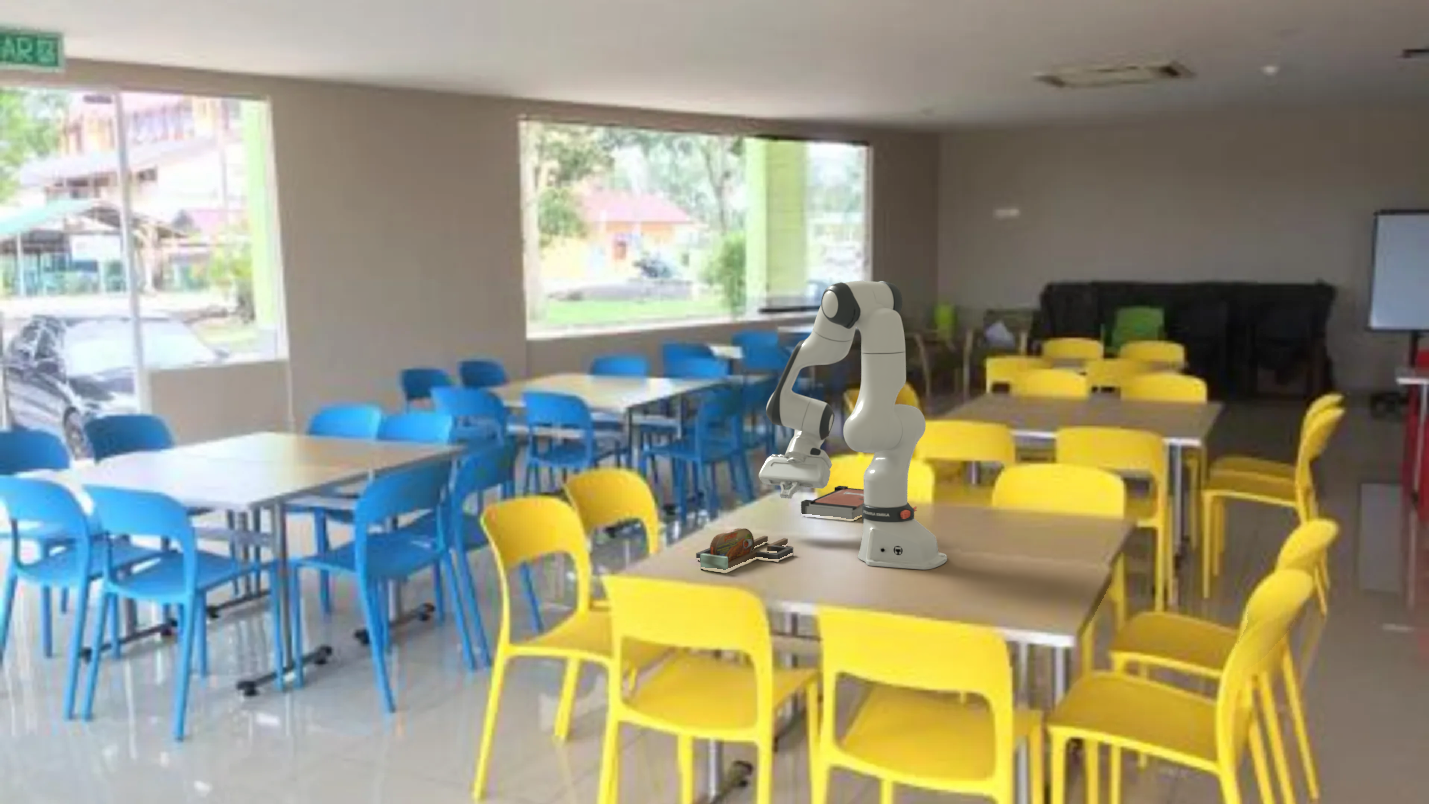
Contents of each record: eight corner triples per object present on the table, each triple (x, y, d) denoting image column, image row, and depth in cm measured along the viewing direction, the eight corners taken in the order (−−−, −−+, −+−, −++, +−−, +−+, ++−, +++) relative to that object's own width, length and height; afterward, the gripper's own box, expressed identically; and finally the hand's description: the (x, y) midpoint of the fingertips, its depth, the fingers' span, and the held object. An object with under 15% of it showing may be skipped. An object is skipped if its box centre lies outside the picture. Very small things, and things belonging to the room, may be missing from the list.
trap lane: (807, 548, 316) (807, 533, 315) (746, 576, 290) (746, 560, 289) (745, 540, 326) (744, 526, 326) (680, 567, 300) (680, 551, 300)
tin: (717, 570, 297) (716, 537, 296) (708, 568, 299) (707, 535, 298) (755, 557, 308) (754, 526, 307) (746, 556, 310) (745, 524, 309)
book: (854, 523, 345) (854, 507, 344) (801, 518, 354) (801, 501, 353) (890, 506, 367) (890, 490, 366) (839, 501, 376) (838, 485, 375)
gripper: (764, 447, 334) (748, 488, 327) (829, 451, 323) (814, 493, 316) (773, 460, 338) (756, 500, 331) (837, 465, 327) (822, 506, 320)
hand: (785, 497), depth 324 cm, fingers closed
